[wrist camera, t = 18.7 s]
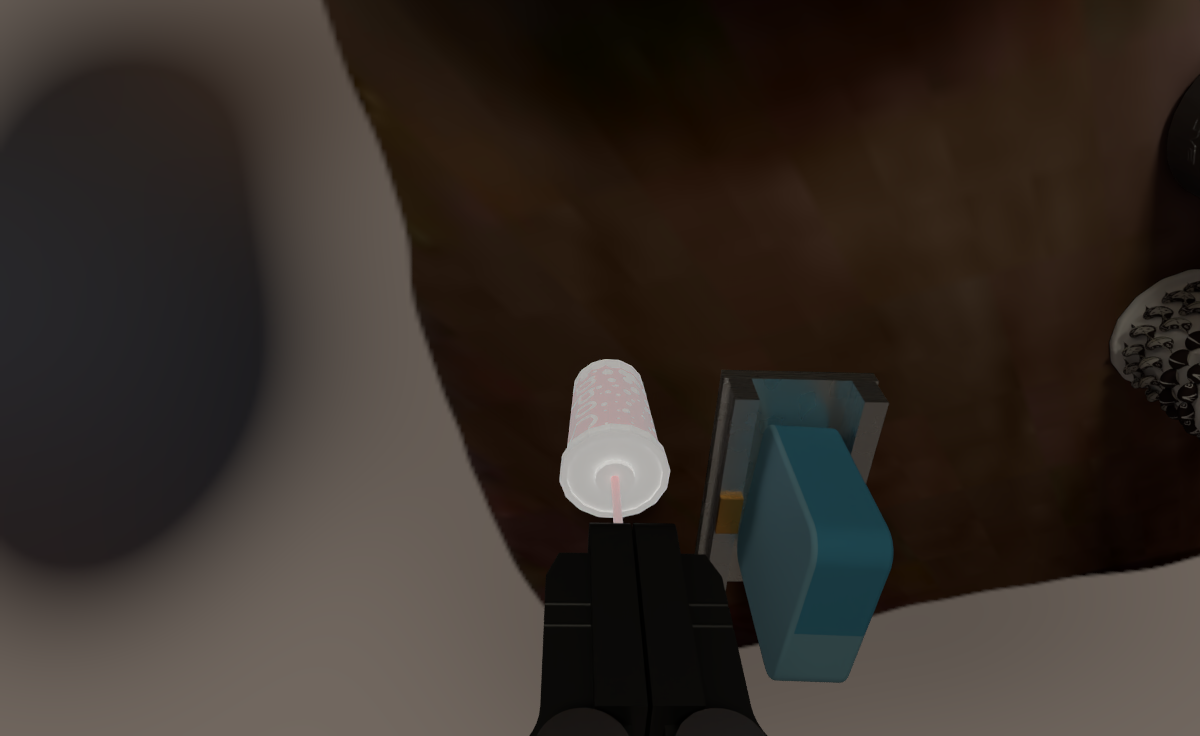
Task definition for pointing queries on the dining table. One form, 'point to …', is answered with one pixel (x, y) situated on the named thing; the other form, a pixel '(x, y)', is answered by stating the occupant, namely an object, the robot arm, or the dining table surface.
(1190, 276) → the leaning tower model
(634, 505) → the beverage cup
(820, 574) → the data package
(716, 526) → the grey tray
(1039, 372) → the dining table surface
